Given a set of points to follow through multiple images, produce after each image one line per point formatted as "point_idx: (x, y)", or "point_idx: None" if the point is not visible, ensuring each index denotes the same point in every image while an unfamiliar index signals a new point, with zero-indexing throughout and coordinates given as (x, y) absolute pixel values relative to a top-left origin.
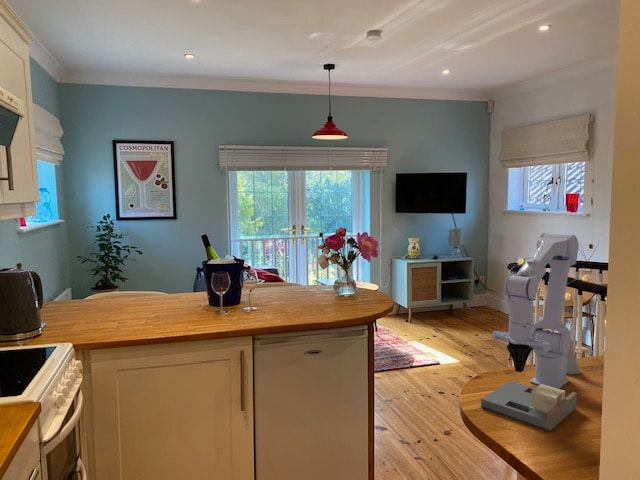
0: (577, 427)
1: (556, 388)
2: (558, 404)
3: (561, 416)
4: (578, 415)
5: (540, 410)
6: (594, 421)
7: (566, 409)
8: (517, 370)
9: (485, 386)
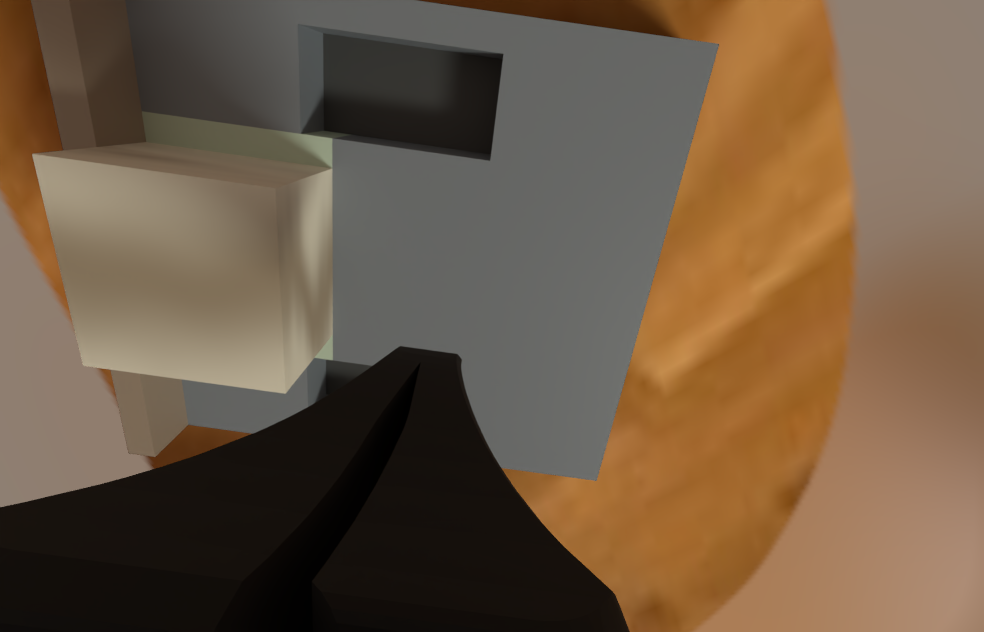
0: None
1: (151, 371)
2: None
3: None
4: None
5: (244, 133)
6: (67, 307)
7: None
8: (428, 354)
9: (734, 403)
